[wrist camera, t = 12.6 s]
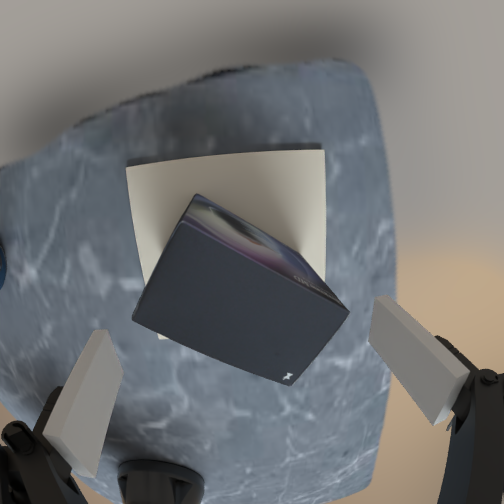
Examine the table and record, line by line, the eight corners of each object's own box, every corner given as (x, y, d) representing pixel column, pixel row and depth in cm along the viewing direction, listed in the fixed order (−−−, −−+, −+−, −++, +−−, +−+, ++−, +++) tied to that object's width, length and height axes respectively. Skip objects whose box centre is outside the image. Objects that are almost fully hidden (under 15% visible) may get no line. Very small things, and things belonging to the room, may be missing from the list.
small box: (305, 250, 25) (359, 312, 15) (265, 309, 26) (292, 392, 17) (196, 187, 22) (182, 214, 12) (159, 256, 24) (126, 325, 14)
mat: (160, 335, 27) (159, 339, 26) (127, 167, 21) (125, 167, 21) (321, 317, 28) (322, 320, 28) (321, 149, 23) (324, 149, 22)
